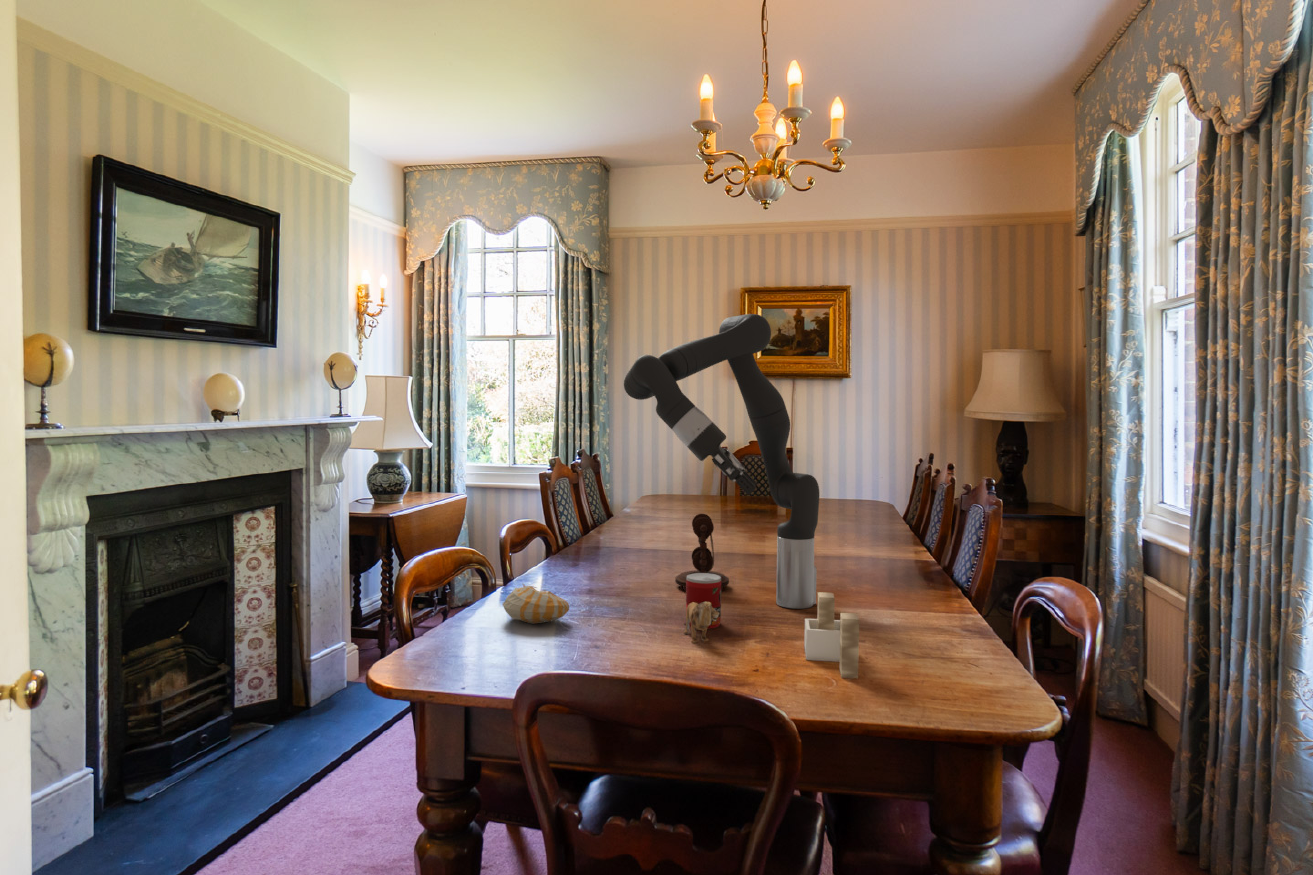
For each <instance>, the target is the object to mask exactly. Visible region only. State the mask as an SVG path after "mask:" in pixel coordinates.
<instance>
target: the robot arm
mask: <svg viewBox="0 0 1313 875" xmlns="http://www.w3.org/2000/svg"><path fill="white" fill-rule="evenodd" d="M771 337H772V329H771V325H770V324H769V321H768V320H767V319H766V318H765V317H764V316H763V315H760V314H755V313H747V314H740V315H734V316H729V317H726V318H724V319H723V321H722V322H721V323H720V326H719V329H718V333H717V334H714V335H713V334H712V335H710V336H706V337H701V338H698V339H696V340H691V341H689V342H686V343H685V342H684V343H681V344H680V345H677V346H674V347H673V348H670V349H668V350H665V351H664V352H663V353H661V354H660V355H659V357H656V356H654V355H651V354H642V355H641V356H639V357H638V358H637V359H636V360H635V361H634V363H633V364H632V366H631V367H630V369H629V370H628V371H627V374H626V375H625V378H624V380H623V388H624V391H625V393H626V394H627V395H628V396H630V398H633V399H634V400H639V401H641V400H648V399H650V398H653V397H655V400H656V407H655V412H656V414H657V415H658V417H659V418H660V419H661V420H662V421H663V422H664V423H665V424H666V425H667V426H668V427H669V429H670V430H672V432H673V433H674V434H675V435H676V437H677V439H679V440H680V442H682V443H683V445H684V446H685V447H686V448H687V449H688V450H689V451H690V452H691V453H692V454H693V455H694V456H695V457H696V458H697V459H698V460H699V461H701V462H703V461H705V459H707V458H708V457H709V456H711V457H712V459H711V461H712V463H713V465H715V467H717V468H718V470H720V471H721V472H722V473H723V475H725V476H726V477H728V480H730V481H732V482H734V483H736V484H737V486H739V487H740V488H741V489H742V490H743V491H744V493H745V494H747V495H751V494H752V493H753V492H754V491H755V490H756V489H757V488H756V486H757V482H756V480H755V479H754V478H753V477H752V476H751V475H750V474H749V473H748V472H747V471H746V469H745V467H744V465H743V464H741V462H740V460H739V459H737V458H736V456H735V455H734V454H733V453H732V451H730V449H727V448H726V447H724V448H723V447H721V444H722V443H724V441H726V439H727V435H726V433H724V432H723V431H722V430H721V429H720V428H719V426H717V425H716V423H714V422H713V421H712V419H711V418H710V417H708V416H707V414H705V413H704V412H703V411H702V410H700V409H699V408H698V406H696V405H695V404H694V403H693V402H692V401H691V400H690V399H689V398H688V397H687V396H686V395H685V394H684V393H683V391H682V389H681V387H680V386H679V384H678V381H681V380H683V379H686V378H688V377H691V376H693V375H695V374H696V373H700V372H701V371H703V370H705V369H708V368H710V367H712V366H713V367H714V366H715V365H717V364H719V363H722V362H724V361H727V362H728V364H729V366H730V369H731V371H732V373H733V375H734V378H735V380H736V383H737V386H738V388H739V391H740V394H741V396H742V399H743V402H744V405H745V408H746V412H747V415H748V418H749V421H750V424H751V427H752V430H753V432H754V433H753V434H754V435H755V438H756V441H757V445H758V449H759V451H760V454H761V458H762V460H763V465H764V469H765V474H766V476H767V477H766V478H767V482H768V486H769V487H768V488H769V490H770V491H769V492H770V495H771V498H772V499H773V501H774V503H775V504H776V505H777V506H779V507H781V508H782V509H783V508H784V509H788V510H790V518H789V520H788V521H785V522H781V523H779V524H778V525H777V532H776V533H777V534H776V535H777V536H776V590H775V591H776V597H775V599H776V605H777V606H780V607H783V608H787V609H796V610H798V609H800V610H801V609H809V608H812V607H813V606H814V605H816V604H817V567H816V565H815V534H816V533H815V532H816V529H817V525H818V521H819V511H820V510H819V509H820V508H819V507H820V486H819V483H818V480H817V479H816V478H815V476H813V475H812V474H808V473H801V472H800V473H799V472H794V471H792V469H791V466H790V463H789V459H788V456H787V445H788V441H789V436H790V431H791V420H790V416H789V413H788V410H787V406H786V403H785V401H784V398H783V396H782V394H781V393H780V392H779V391H778V388H776V387H775V386H774V385H773V383H772V382H771V381H770V380H769V379H768V377H766V375H764V374H763V372H762V370H761V369H760V367H759V365H758V364H757V360H756V358H755V355H754V354H757V353H760V352H763V350H764V349H766V348H767V347H768V345H769V343H770V342H771Z"/></svg>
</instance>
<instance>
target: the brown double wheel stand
mask: <svg viewBox="0 0 1313 875" xmlns="http://www.w3.org/2000/svg"><path fill="white" fill-rule="evenodd" d="M712 520H713V519H712V518H711V516H709V514H706V513H698V514H696V515H695V516H693V519H692V520H691V527H692V531H693V533H694V535H695V536H697V538H698V544H699V546H697V547H695V548H694V549H693V550H692V553H691V560H692V565H693V568H694V569H695V570H688V571H684V572H681V573H680V574H678V575H676V576H675V581H674V583H675V584H676V585H678V586H680V587H683V591H684V592H686V579H687V576H688V575H690V574H694V573H709V574H715V575H718V576H720V577H721V592H722V591H723V587H726V586H728V585H729V583H730V578H729V577H728V576H726V575H725V574H724V573H722V572H718V571H715V570H713V568H714V564H715V552H714V550H715V549H714V542H713V532H714V528H715V526H714V523H713V521H712ZM709 538H710V540H709V541H710V547H711V550H710V549H709V548H708V543H707V542H706V541H707V540H708V539H709Z"/></svg>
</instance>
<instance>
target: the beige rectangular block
mask: <svg viewBox="0 0 1313 875" xmlns="http://www.w3.org/2000/svg"><path fill="white" fill-rule="evenodd" d="M839 620H840V662H838V663H839V668H838V669H839V674H841V675H840V678H841V679H854V678H857V680H858V679H859V654H860V653H859V651H860V650H859V649H860V648H859V647H860V644H859V642H860V640H859V639H860V617H859V616H858V614H857V613H854V612H851V613H850V612H849V613H848V612H840V619H839Z"/></svg>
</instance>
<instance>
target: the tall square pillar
mask: <svg viewBox="0 0 1313 875" xmlns="http://www.w3.org/2000/svg"><path fill="white" fill-rule="evenodd" d="M835 602H836V600H835V594H834V593H833V592H825V591H824V592H822V591H821V592H820V591H819V592H818V591H817V617H816V619H817V629H821V630H834V620H835Z"/></svg>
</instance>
